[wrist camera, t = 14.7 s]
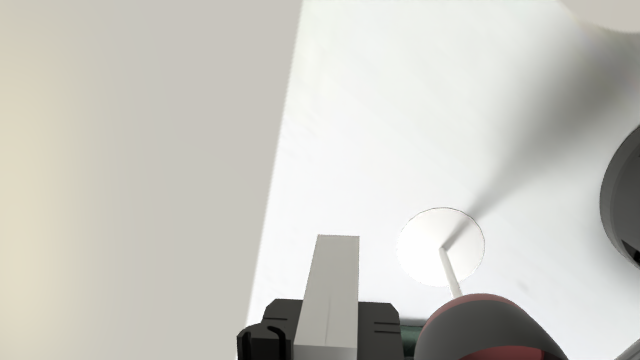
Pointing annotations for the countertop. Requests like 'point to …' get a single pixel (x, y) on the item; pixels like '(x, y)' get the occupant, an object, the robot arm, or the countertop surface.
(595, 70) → the countertop surface
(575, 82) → the countertop surface
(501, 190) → the countertop surface
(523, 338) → the wineglass
